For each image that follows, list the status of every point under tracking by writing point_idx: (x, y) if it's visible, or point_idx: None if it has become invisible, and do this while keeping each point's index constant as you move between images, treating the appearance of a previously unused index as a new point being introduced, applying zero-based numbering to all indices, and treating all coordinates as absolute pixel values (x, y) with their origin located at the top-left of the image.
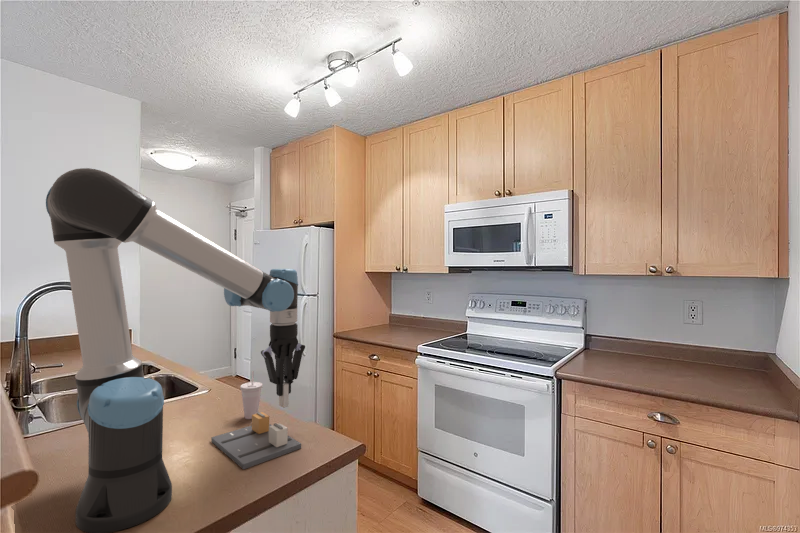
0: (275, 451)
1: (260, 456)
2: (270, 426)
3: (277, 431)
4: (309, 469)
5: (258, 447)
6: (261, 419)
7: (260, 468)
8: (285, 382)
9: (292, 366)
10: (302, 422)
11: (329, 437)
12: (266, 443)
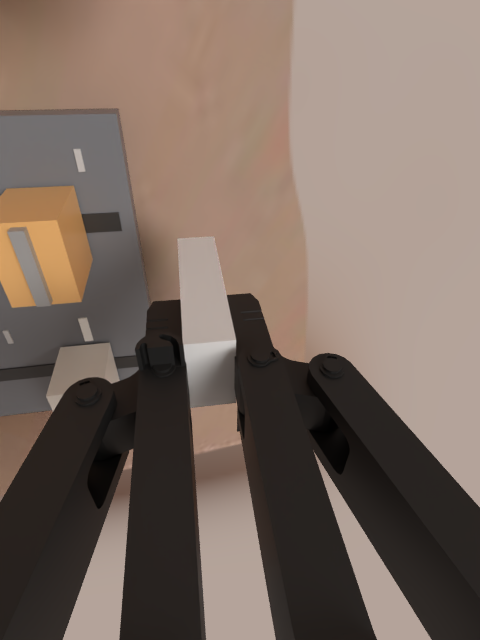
0: None
1: (9, 408)
2: (52, 400)
3: None
4: (130, 464)
5: (13, 357)
6: (31, 302)
7: (8, 421)
8: (232, 369)
9: (371, 476)
10: (293, 206)
11: None
12: (51, 346)
